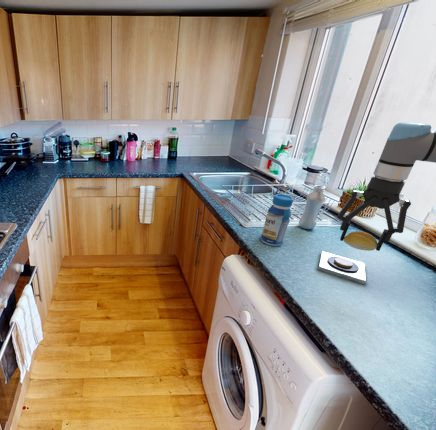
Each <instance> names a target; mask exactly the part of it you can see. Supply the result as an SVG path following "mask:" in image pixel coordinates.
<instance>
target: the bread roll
mask: <svg viewBox="0 0 436 430" xmlns="http://www.w3.org/2000/svg"><path fill="white" fill-rule="evenodd" d="M343 242H344V243H345V244H346V245H348V246H349V247H351V248H353V249H356V250H360V251H365V252H367V251H368V252H369V251H370V252H371V251H375V250H376V248H377V245H378V240H377V238H376V237H375V236H373V235H372V234H370V233H368V232H366V231H361V230H355V231H351V232H349V233H348V234H346V235H345V237H344V239H343Z"/></svg>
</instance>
